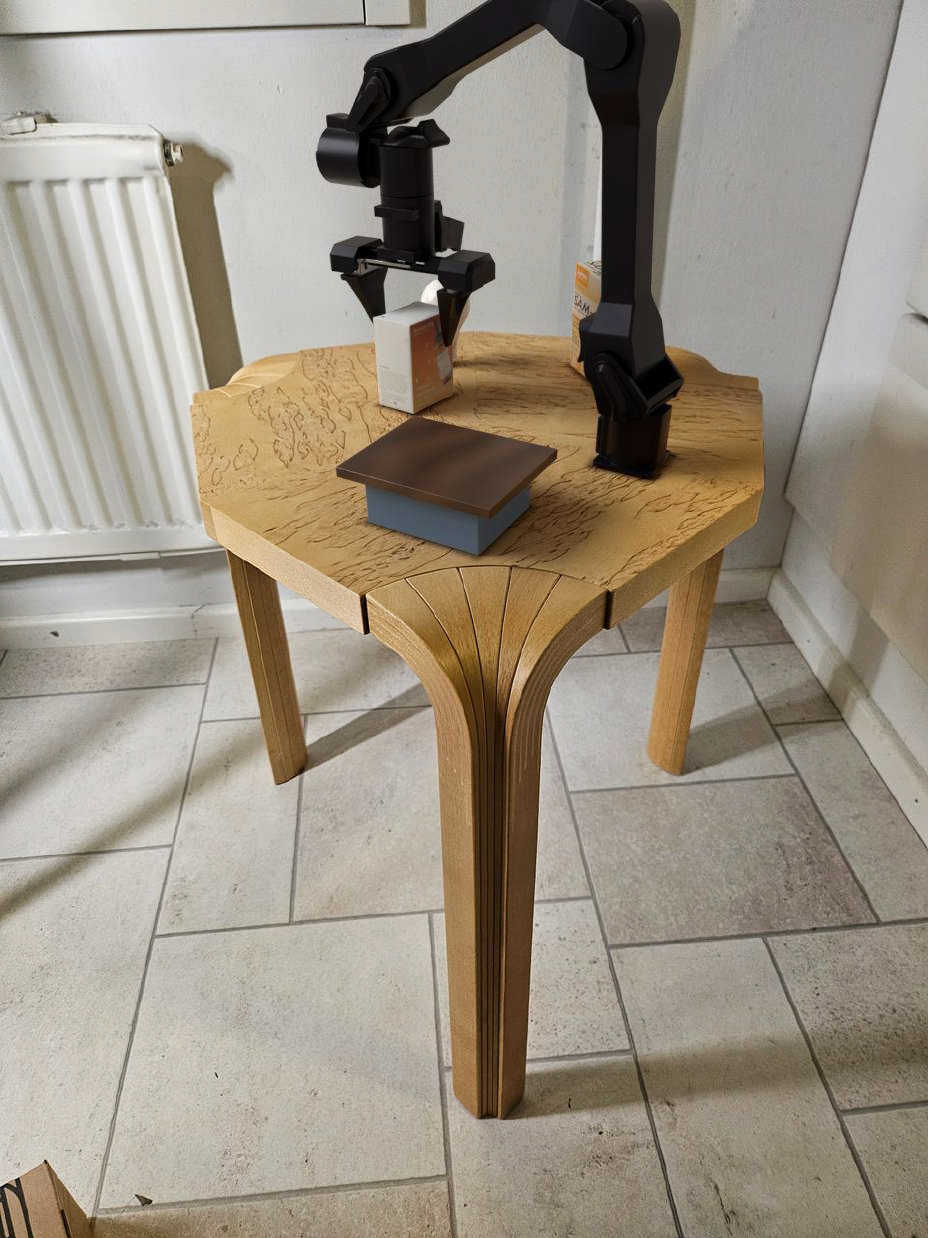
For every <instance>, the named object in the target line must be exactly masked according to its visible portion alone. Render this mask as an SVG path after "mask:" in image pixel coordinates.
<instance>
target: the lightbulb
mask: <svg viewBox="0 0 928 1238" xmlns="http://www.w3.org/2000/svg"><path fill="white" fill-rule="evenodd" d="M441 288H443V286H442V285H441V284H440V282H439V281H438V278H436V279H434V280H432V281H430V282H429V283H428V284H427V286H425V288H424V289H423V292H422V294H421V297H420V302H424V303H428V304H433V305H437V306H438V301H437V290H439V289H441ZM470 311H471V298H470V296H469V298H468V300H467V302H466V305H465V307H464V309H463V312H462V315H461V318H460V321H459V324H458V327H457V330H456V333H455V336H454V339H453V342H452V349H453V363H455V362H457V360H458V353H457V352H458V350H457V349H458V347H457V346H458V341H459V338H460V332H461V329H462V327H463V325H464V324H465V322H466V321H467V318H468V317H469V315H470Z"/></svg>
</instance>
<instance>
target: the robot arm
mask: <svg viewBox="0 0 928 1238" xmlns="http://www.w3.org/2000/svg"><path fill="white" fill-rule="evenodd" d="M545 30H546V31H547V32H548V33H549V34H550V35H551V36H552V37H553V38H554V39H555V40H556V41H557V43H558V44H560V45H561V46H562V47H564V48H565V49H567V50H568V51H570V52H572V53H574V55H577V56H578V57H580V58H581V59H582V63H583V70H584V78H585V85H586V92H587V95H588V97H589V100H590V102H591V105H592V107H593V109H594V112H595V114H596V117H597V120H598V122H599V125H600V129H601V195H600V196H601V197H600V198H601V203H600V204H601V205H600V207H601V214H600V215H601V216H600V218H601V219H600V220H601V223H600V229H601V230H600V246H601V247H600V260H601V297H600V302H599V305H598V308H597V310H596V312H594V313H592V314H590V315H588V316H587V317H585V318H583V319H581V320H580V321H579V337H580V345H581V347H580V354H579V357H578V360H577V362H578V363H580V362H582V361H583V369H584V375H585V377H584V378H585V380H586V382H587V383H588V384H590V386H591V389H592V394H593V398H594V402H595V405H596V410H597V413H598V415H599V416H598V417H597V425H596V437H595V450H594V451H595V453H596V454H597V455H596V456H595V457H594V458H593V459H592V465H593V466H594V467H597V468H602V469H606V470H609V471H614V472H617V473H618V472H619V473H623V474H627V475H631V476H636V477H640V478H643V479H651V478H653V476H655V474H656V473H657V472H658V471H659V470H660V469H661V467H663V465H664V464H665V463H666V462H667V461H668V459H669V458H670V457H671V455H672V450H670V449H668V440H669V434H670V427H671V418H672V412H673V404H669V403H668V402H670V401H672V399H675V398H676V397H678V395H679V393H680V392H681V390H682V388H683V385H684V383H685V378H684V376H683V375H682V374H681V372H680V370H679V369H678V368H677V366H676V365H675V363H674V362H673V360H672V359H671V358H670V356H669V354H668V353H667V351H666V343H665V333H664V325H663V317H662V316H661V314H660V311H659V309H658V307H657V304H656V302H655V299H654V297H653V293H652V280H653V279H652V276H653V275H652V274H653V253H654V252H653V251H654V249H653V248H654V244H653V243H654V226H655V225H654V222H655V221H654V220H655V200H656V199H655V197H656V195H655V194H656V173H657V172H656V170H657V166H656V165H657V145H658V143H657V142H658V126H659V120H660V118H661V114H662V112H663V109H664V107H665V104H666V101H667V98H668V97H669V93H670V90H671V88H672V85H673V82H674V77H675V74H676V73H675V72H676V67H677V63H678V62H677V61H678V56H679V51H680V44H681V37H682V29H681V21H680V18H679V14H678V13H677V12H675V11H674V9H673V7H671V5H670V3H668V2H667V1H665V0H485V1H484V2H482V3H481V4H480V5H478V6H476V7H475V8H473V9H472V10H470V11H469V12H467V13H466V14H464V15H463V16H461V17H460V18H458V19H456V20H455V21H453V22H452V23H451V24H449V25H448V26H446V27H444V28H443V29H441V30H440V31H438V32H436V33H435V34H433V35H431V36H430V37H427V38H424V39H422V40H418V41H413V42H410V43H406V44H402V45H399V46H396V47H392V48H390V49H386V50H384V51H381V52H378V53H375V54H373V55H371V56H370V57H369V58H368V59H367V60H366V61H365V63H364V66H363V77H362V82H361V84H360V87H359V89H358V92H357V94H356V97H355V99H354V101H353V103H352V106H351V108H350V111H349V113H346V112H335V113H329V114H328V113H327V114H326V116H325V121H326V127H325V128H324V130H323V131H322V132H321V134H320V136H319V138H318V143H317V149H316V151H315V161H316V167H317V168H318V171H319V173H320V175H321V176H322V178H323V179H324V180H325V181H326V182H328V183H330V184H336V185H342V186H343V185H344V186H351V187H358V188H364V189H375V188H378V187H379V192H380V193H379V197H380V198H379V199H380V204H377V205H374V206H373V213H374V215H373V216H374V218H381V224H382V225H381V226H382V238H379V237H374V236H373V237H372V236H365V235H354V236H351V237H349V238H345V239H343V240H340V241H337V242H335V243H333V244H332V247H331V250H330V252H329V264H330V270H331V272H333V273H334V272H335V273H341V274H340V275H339V277H340V280H341V281H345V282H346V283H347V284H348V286H349V288H350V289H351V291H352V292H353V293H354V295H355V297H356V298H357V299H358V301H359V303H360V305H361V306H362V307H363V309H364V311H365V313H366V315H367V316H368V319H369V320H370V322H371V323H372V325H373V326H374V324H373V318H374V317H377V316H381V315H384V314H386V313H387V310H386V309H387V307H386V296H385V294H386V293H385V281H386V277H387V274H388V270H389V269H394V270H401V271H406V272H414V273H420V274H427V275H433V276H437V279H438V281H439V282H440V284H441V285H442V286H443V288H441V289H439V290H437V301H438V309H439V317H440V325H441V333H442V338H443V342H444V346H445V347H449V346H450V345H452V342H453V339H454V336H455V333H456V330H457V327H458V324H459V321H460V318H461V315H462V312H463V309H464V307H465V305H466V302H467V300H468V298H469V297H470V296H471V295H472V293H474V292H477V291H478V290H480V289H483V287H484V286H485V285H487V284H489V283H491V282H493V281H495V280H496V262H495V260H494V258H493V257H492V255H491V253H490V252H486V251H477V250H471V249H463V248H462V246H463V245H462V244H463V237H464V231H465V224H466V223H465V222H464V221H461V220H459V219H455V218H453V217H451V216H446V215H444V211H443V204H442V200H441V199H435V183H434V181H435V180H434V155H433V152H434V150H433V149H436V148H439V147H444V146H448V145H450V143H451V138H450V136H448V134H447V133H446V132H445V131H444V130H443V129H442V128H440V126H439V125H438V124H437V121H436V120H435V118H428V119H423V120H420V121H419V122H418V124H417V125H416V126H412V125H408V124H410V123H411V122H412V121H413V120H414V119H415V118H419V117H425V116H428V115H430V114H431V113H433V112H434V111H435V110H436V109H437V108H439V106H441V105H442V104H443V103H444V102H445V101H446V100H447V99H449V97H450V96H451V95H452V94H453V92H454V91H455V89H456V88H457V85H458V84H459V83H460V82H461V81H463V79H464V78H465V77H466V76H468V75H470V74H472V73H473V72H475V71H477V70H478V69H480V68H482V67H484V66H485V65H487V64H489V63H491V62H492V61H494V60H495V59H498V58H499V57H500V56H502V55H504V54H506V53H508V52H509V51H511V50H513V49H514V48H516V47H518V46H520V45H521V44H523V43H525V42H527V41H528V40H529V39H532V38H533V37H535V36H536V35H538V34H540V33H542V32H543V31H545ZM391 127H394V128H393V129H392V130H390V132H389V131H388V130H389V129H388V128H391ZM448 249H449V250H451V251H452V252H453V253H451V254H449V255H447V256H439V255H437V253H445V252H446V251H448Z"/></svg>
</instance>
